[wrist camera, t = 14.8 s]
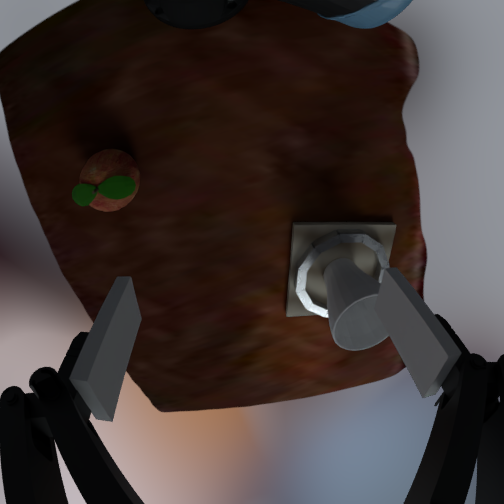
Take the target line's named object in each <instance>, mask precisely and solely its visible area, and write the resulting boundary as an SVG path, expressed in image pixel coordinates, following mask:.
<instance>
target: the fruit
mask: <svg viewBox="0 0 504 504" xmlns="http://www.w3.org/2000/svg"><path fill="white" fill-rule="evenodd" d="M139 183H140V172H139V169H138V166H137V163H136V162H135V161H134V159H133V158H132V157H131V156H130V155H129V154H128V153H126V152H124V151H121V150H117V149H105V150H102V151H100V152H98V153H96V154H94V155H93V156H92V157H90V158H89V159H88V161H87V162H86V164H85V166H84V167H83V169H82V171H81V174H80V184H78V185H77V186H75V187H74V189H73V191H72V197H73V200H74V201H75V202H76V203H77V204H78V205H81V206H87V205H90V206H91V207H93V208H95V209H97V210H101V211H105V212H107V211H115V210H119V209H120V208H122V207H124V206H126V205H127V204H128V203H129V202H130V201H131V200H132V199H133V197H134V196H135V194H136V193H137V191H138V188H139Z"/></svg>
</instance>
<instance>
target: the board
mask: <svg viewBox="0 0 504 504" xmlns="http://www.w3.org/2000/svg"><path fill="white" fill-rule="evenodd" d="M336 229H361V230H363V231H365V232H366V233H368V234H369V235H371V236H372V237H374V238H375V239H377V240H378V241H379V242H380V243H381V244H382V245H383V247H384V250H385V253H386V256H387V259H388V261H389V257H390V252H391V248H392V243H393V239H394V234H395V229H396V224H395V223H394V222H293V228H292V243H291V256H290V269H289V281H288V293H287V304H286V316H287V317H291V316H306V315H318V314H316V313H314V312H311V311H309V310H307V309H306V308H305V306H304V305H303V303H302V301H301V300H300V298H299V297H298V295H297V293H296V291H295V287H294V280H295V270H296V264H297V262H298V260H299V259H300V258H301V256H302V255H303V253H304V252H305V251H306V249H307V248H308V246H309V245H310V244H311V243H312V242H313V241H315V240H317V239H318V238H320V237H322V236H324V235H326V234H328V233H330V232H332V231H333V230H336ZM312 244H313V243H312ZM339 258H347V259H350V260H352V261H353V262H354V263H355V264H356V265H357V266H358V268H360V269H361V270H362V271H364V272H365V273H366V274H368V275H369V276H371V277H373V278H374V275H375V271H376V267H377V263H378V262H377V259H376V257H375V254H374V251H373V250H372V249H371V248H369V247H368V246H366V245H365V244H363V243H362V242H355V243H339V244H337V245H336V246H334V247H332V248H330V249H328V250H326V251H324V252H322V253H321V254H320V255H319V256H318V257H317V259H316V260H315V261H314V263H313V264H312V265H311V267H310V268H309V270H308V271H307V277H306V285H305V289H306V290H307V292H308V294H309V295H310V297H311V298H312V299H314V300H317V301H319V302H321V303H323V304H326V305H327V290H326V285H325V282H324V277H323V274H324V271H325V269H326V267H327V266H328V265H329V263H331V262H332V261H334V260H336V259H339Z"/></svg>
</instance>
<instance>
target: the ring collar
mask: <svg viewBox="0 0 504 504" xmlns="http://www.w3.org/2000/svg"><path fill="white" fill-rule="evenodd" d="M355 242H362V243H363V244H365V245H366V246H368V247H369V248H371V249H372V250H373V251H374V254H375V257H376V259H377V262H378V263H377V267H376V271H375V275H374V279H376V280H377V281H378V282H379V283H381V281H382V278H383V274H384V270H385V268H389V262H388V259H387V256H386V253H385V250H384V247H383V245H382V244H381V243H380V242H379V241H378V240H377V239H375V238H374V237H372V236H371V235H369V234H368V233H366V232H365V231H363V230H361V229H336V230H333V231H332V232H330V233H328V234H326V235H324V236H322V237H320V238H318V239H317V240H315V241H313V242H312V243H313V244H312V243H311V244H310V245H309V246H308V248H307V249H306V251H305V252H304V253H303V255H302V256H301V258H300V259H299V260H298V262H297V264H296V270H295V280H294V287H295V291H296V293H297V295H298V297H299V298H300V300H301V301H302V303H303V305H304V306H305V308H306V309H307V310H309V311H311V312H314V313H316V314H318V315H321V316H323V317H328V309H327V305H326V304H323V303H321V302H319V301H317V300H314V299H312V298H311V297H310V295H309V294H308V292H307V290H306V289H305V285H306V277H307V271H308V270H309V268H310V267H311V265H312V264H313V263H314V261H315V260H316V259H317V257H318V256H319V255H320V254H321V253H322V252H324V251H326V250H328V249H330V248H332V247H334V246H336V245H337V244H339V243H355Z"/></svg>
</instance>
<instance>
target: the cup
mask: <svg viewBox="0 0 504 504" xmlns="http://www.w3.org/2000/svg"><path fill="white" fill-rule="evenodd" d="M323 277H324V282H325V285H326V290H327V309H328V317H329V325H330V329H331V333H332V336H333V339H334V341H335V343H336V344H337V345H338V346H340V347H342V348H344V349H346V350H353V351H355V350H363V349H367V348H370V347H372V346H374V345H376V344H378V343H380V342H381V341H383V340H384V339H386V338H387V337H388V336H389V334H388V332H387V331H386V329H385V327H384V325H383V324H382V322H381V320H380V319H379V317H378V315H377V313H376V312H375V310H374V307H375V303H376V300H377V296H378V293H379V289H380V285H381V283H379V282H378V281H377V280H376V279H374V278H373V277H371V276H369V275H368V274H366V273H365V272H364V271H362V270H361V269H360V268H358V266H357V265H356V264H355V263H354V262H353V261H352V260H350V259H347V258H339V259H336V260H334V261H332V262H331V263H329V265H328V266H327V267H326V269H325V271H324V274H323Z"/></svg>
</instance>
